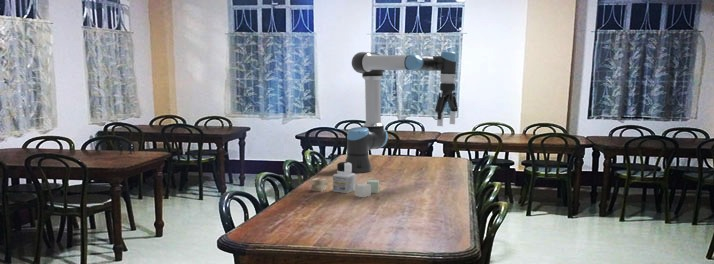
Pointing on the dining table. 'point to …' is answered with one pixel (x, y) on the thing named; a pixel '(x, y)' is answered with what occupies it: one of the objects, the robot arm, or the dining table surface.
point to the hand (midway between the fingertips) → (446, 125)
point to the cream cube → (362, 190)
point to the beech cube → (318, 184)
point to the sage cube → (374, 185)
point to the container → (344, 178)
